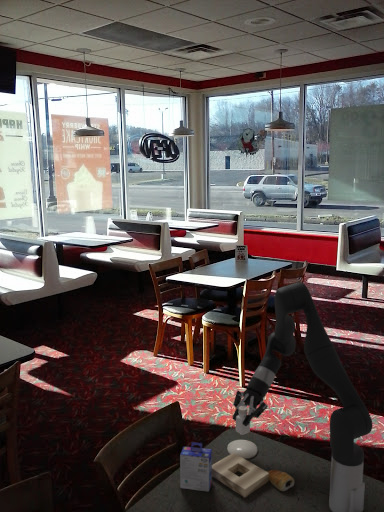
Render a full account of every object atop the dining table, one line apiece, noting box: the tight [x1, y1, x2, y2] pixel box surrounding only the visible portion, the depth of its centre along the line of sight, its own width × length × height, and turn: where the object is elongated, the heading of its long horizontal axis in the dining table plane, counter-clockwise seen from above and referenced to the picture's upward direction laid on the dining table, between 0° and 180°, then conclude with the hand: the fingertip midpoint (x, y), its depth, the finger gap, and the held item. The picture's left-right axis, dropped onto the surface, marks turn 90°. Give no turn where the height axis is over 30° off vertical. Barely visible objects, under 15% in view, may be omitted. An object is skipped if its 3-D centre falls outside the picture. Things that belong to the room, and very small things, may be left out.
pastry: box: [267, 469, 295, 492], centre depth 164 cm, size 9×7×4 cm
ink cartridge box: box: [179, 441, 213, 492], centre depth 162 cm, size 10×6×14 cm, turn 78°
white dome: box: [226, 439, 258, 460], centre depth 183 cm, size 11×11×1 cm
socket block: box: [212, 453, 270, 498], centre depth 167 cm, size 16×12×3 cm
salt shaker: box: [235, 406, 251, 436], centre depth 180 cm, size 4×4×10 cm
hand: (239, 422), depth 179 cm, fingers closed on salt shaker, 4 cm apart
